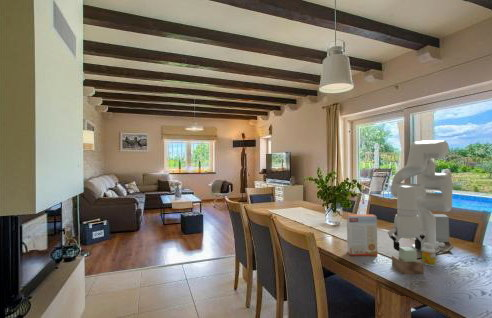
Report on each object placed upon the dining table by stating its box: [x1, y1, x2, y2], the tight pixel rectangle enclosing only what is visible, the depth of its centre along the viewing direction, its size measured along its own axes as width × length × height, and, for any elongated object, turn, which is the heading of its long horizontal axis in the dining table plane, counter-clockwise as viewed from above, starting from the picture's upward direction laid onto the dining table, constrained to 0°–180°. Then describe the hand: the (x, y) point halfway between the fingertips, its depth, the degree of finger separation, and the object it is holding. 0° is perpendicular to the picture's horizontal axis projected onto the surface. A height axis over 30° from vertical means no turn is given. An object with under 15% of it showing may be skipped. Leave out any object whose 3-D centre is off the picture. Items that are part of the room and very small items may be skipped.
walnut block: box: [391, 255, 425, 275], centre depth 121 cm, size 9×9×5 cm
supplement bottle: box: [421, 243, 437, 267], centre depth 127 cm, size 5×5×10 cm
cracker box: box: [346, 213, 378, 257], centre depth 141 cm, size 14×6×21 cm, turn 84°
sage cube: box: [398, 246, 418, 262], centre depth 121 cm, size 5×5×5 cm
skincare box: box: [433, 213, 450, 243], centre depth 161 cm, size 8×7×16 cm
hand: (407, 249), depth 121 cm, fingers open, 9 cm apart
